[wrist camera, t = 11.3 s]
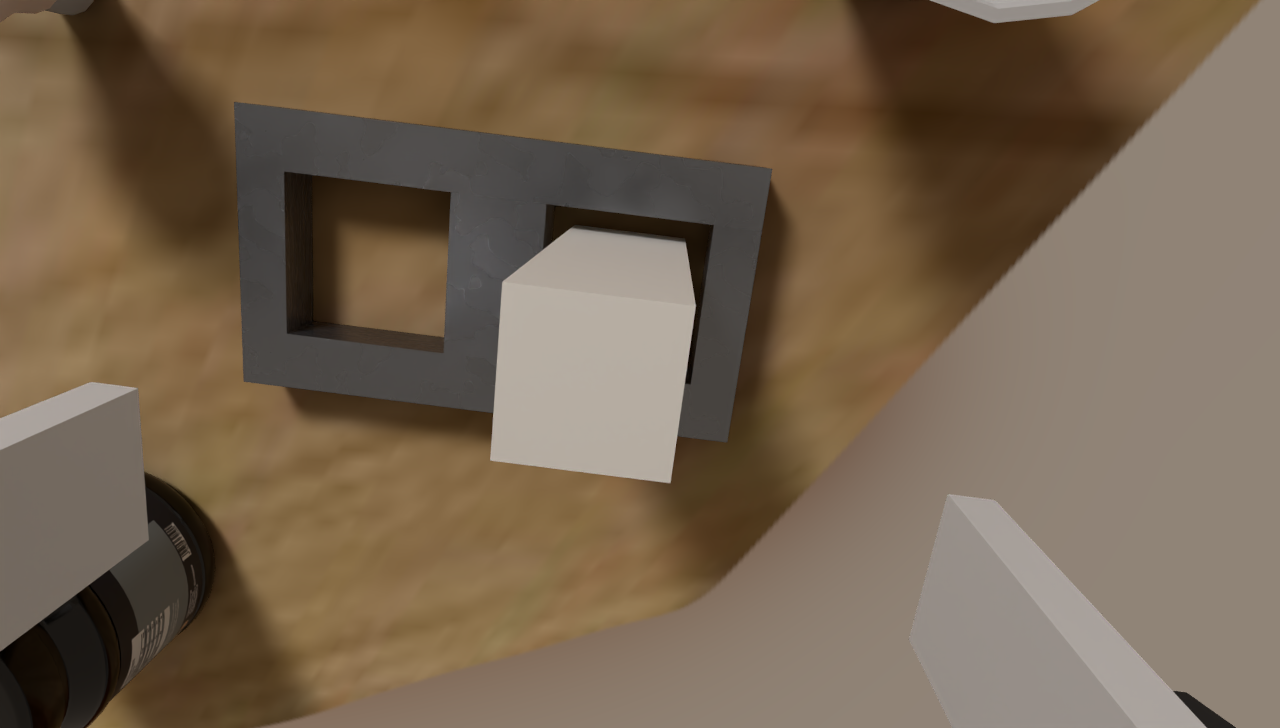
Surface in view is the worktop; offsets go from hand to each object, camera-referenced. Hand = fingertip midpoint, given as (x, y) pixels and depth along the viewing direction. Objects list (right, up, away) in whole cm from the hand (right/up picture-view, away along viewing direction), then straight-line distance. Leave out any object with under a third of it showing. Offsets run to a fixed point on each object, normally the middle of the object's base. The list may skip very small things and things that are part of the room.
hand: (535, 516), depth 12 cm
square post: (+1, +6, +22) cm, 23 cm away
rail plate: (-5, +7, +22) cm, 23 cm away
